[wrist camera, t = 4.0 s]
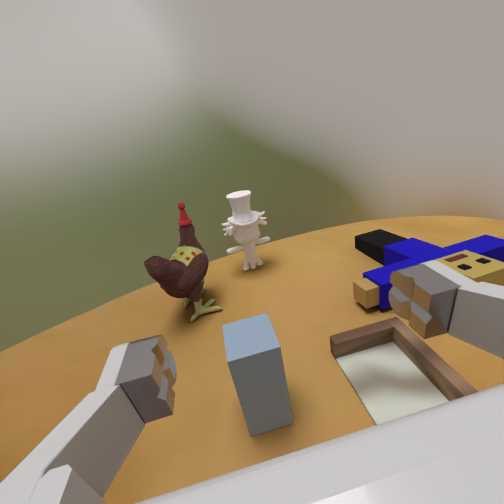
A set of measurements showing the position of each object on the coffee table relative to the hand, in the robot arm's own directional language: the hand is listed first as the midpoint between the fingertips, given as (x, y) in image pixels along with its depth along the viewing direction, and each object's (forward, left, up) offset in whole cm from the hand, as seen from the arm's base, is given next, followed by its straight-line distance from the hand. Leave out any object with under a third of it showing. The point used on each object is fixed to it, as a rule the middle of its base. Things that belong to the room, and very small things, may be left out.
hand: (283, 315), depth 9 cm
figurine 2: (+26, +38, -25) cm, 52 cm away
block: (+5, +12, -25) cm, 28 cm away
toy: (+43, +10, -25) cm, 51 cm away
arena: (+18, +4, -25) cm, 31 cm away
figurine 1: (+9, +38, -25) cm, 46 cm away
